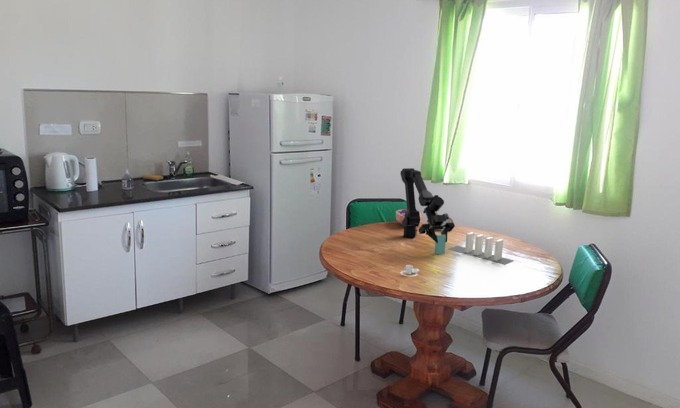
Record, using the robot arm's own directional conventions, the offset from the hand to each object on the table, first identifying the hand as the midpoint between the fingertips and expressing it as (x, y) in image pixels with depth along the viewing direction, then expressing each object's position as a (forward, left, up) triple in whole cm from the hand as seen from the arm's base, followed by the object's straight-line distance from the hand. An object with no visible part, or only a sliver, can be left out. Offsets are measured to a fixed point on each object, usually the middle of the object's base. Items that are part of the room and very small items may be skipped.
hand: (441, 242), depth 267 cm
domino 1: (+12, +11, -6) cm, 17 cm away
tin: (-12, +48, -7) cm, 50 cm away
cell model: (-32, +48, -7) cm, 59 cm away
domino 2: (+17, +9, -6) cm, 20 cm away
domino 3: (+22, +7, -6) cm, 24 cm away
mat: (+18, +9, -7) cm, 21 cm away
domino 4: (+27, +5, -6) cm, 29 cm away
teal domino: (-1, +1, -7) cm, 7 cm away
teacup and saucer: (-3, -36, -7) cm, 37 cm away
